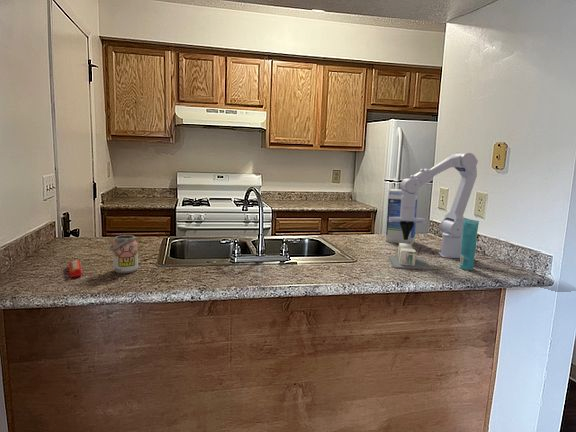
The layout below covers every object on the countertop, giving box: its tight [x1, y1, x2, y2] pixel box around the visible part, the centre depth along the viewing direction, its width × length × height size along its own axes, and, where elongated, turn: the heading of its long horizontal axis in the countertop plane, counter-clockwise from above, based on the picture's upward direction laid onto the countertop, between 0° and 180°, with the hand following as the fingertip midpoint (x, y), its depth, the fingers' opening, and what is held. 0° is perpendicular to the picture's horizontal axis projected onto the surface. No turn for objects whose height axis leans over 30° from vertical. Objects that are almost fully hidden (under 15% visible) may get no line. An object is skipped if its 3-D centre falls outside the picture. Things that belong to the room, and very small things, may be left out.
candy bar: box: [68, 259, 83, 278], centre depth 138 cm, size 16×4×3 cm, turn 29°
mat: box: [388, 255, 433, 271], centre depth 161 cm, size 14×16×1 cm
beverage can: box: [108, 234, 139, 274], centre depth 140 cm, size 9×8×12 cm
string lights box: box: [385, 188, 419, 245], centre depth 198 cm, size 13×8×26 cm, turn 66°
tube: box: [459, 217, 480, 271], centre depth 154 cm, size 7×5×19 cm, turn 26°
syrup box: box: [397, 243, 417, 266], centre depth 162 cm, size 6×6×14 cm
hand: (405, 239), depth 170 cm, fingers closed
